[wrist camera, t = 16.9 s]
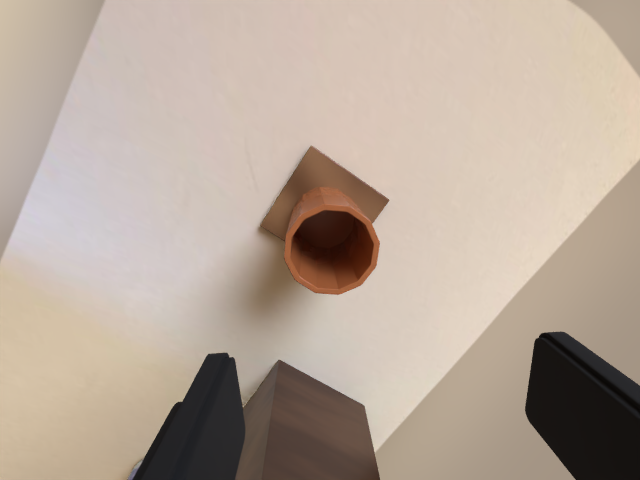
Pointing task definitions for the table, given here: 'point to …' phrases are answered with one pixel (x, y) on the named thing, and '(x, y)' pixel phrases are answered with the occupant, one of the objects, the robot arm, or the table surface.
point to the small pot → (330, 242)
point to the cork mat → (320, 174)
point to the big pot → (304, 432)
